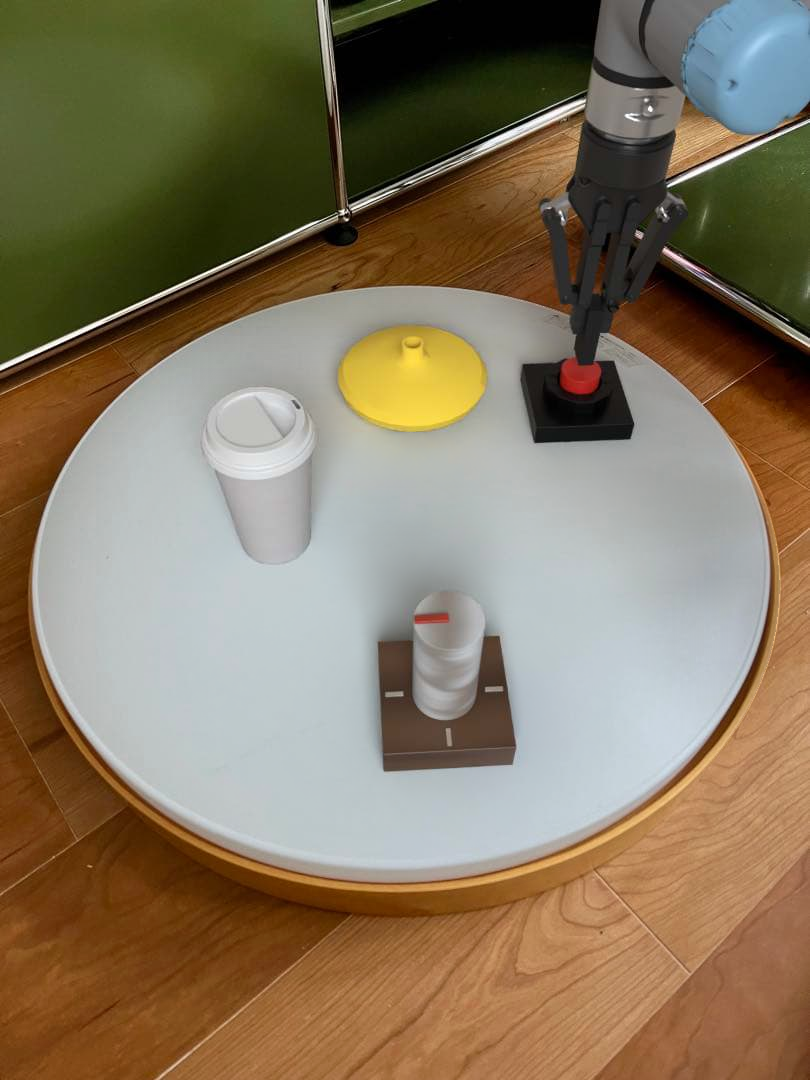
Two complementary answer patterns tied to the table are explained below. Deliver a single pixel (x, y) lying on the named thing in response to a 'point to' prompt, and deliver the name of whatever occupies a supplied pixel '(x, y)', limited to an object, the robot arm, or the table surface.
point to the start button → (579, 377)
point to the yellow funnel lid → (412, 378)
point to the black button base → (575, 406)
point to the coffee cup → (264, 469)
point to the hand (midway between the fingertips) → (583, 356)
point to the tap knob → (447, 654)
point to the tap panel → (444, 742)
